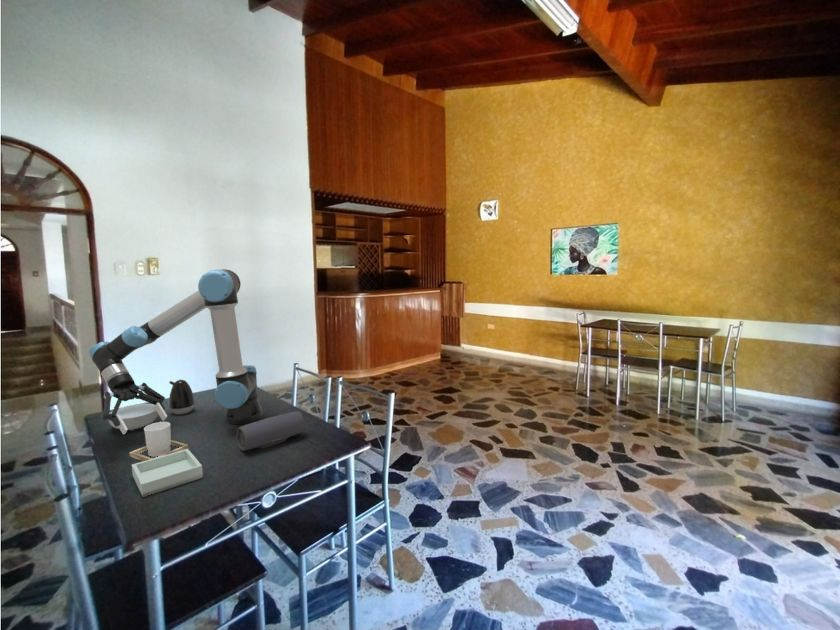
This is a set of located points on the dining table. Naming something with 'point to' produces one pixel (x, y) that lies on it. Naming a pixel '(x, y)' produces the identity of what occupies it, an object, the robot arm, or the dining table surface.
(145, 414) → the cereal bowl
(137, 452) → the tan flat square frame
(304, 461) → the dining table surface
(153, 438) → the white cup
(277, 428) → the bluetooth speaker
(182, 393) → the pump dispenser
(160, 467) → the bin
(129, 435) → the dining table surface
